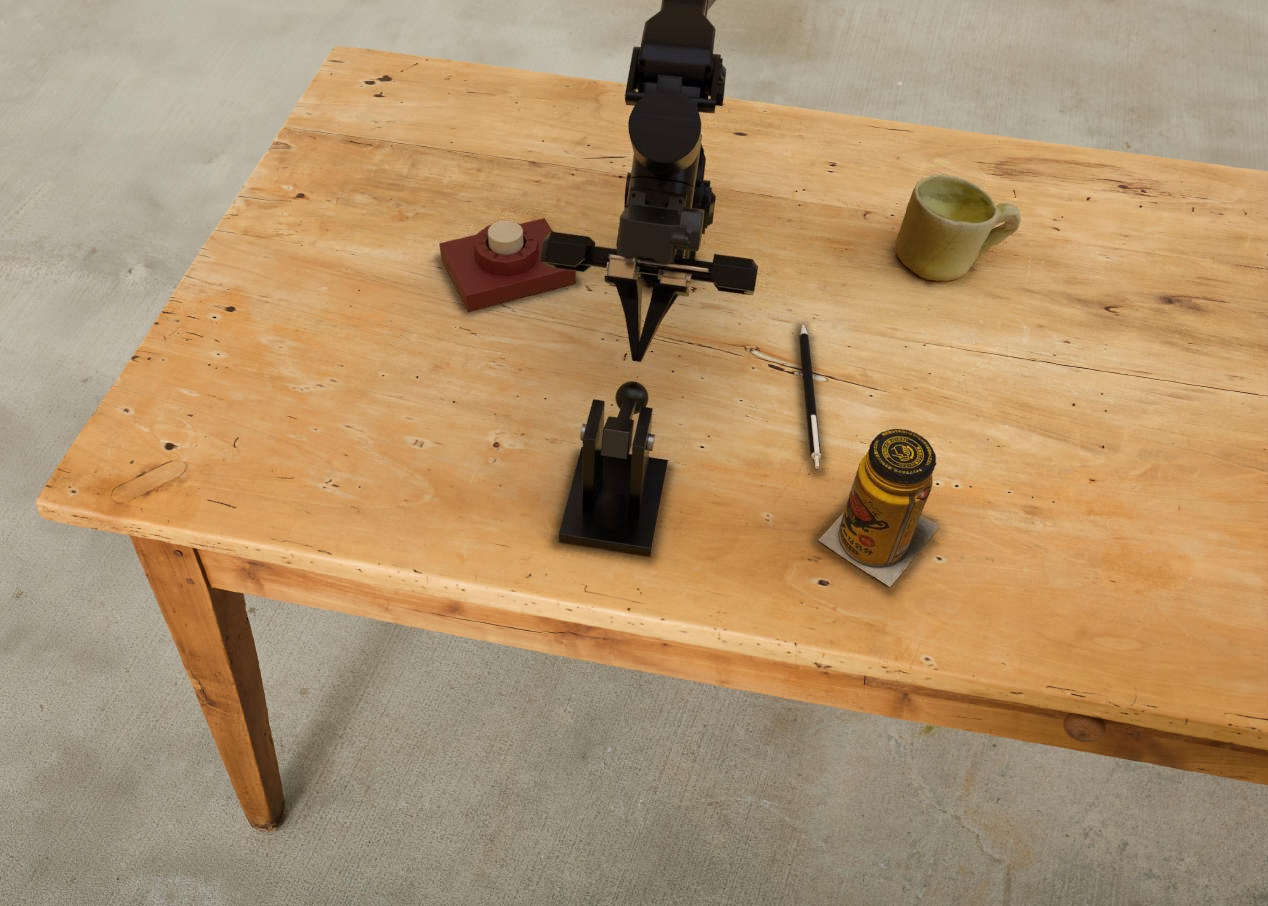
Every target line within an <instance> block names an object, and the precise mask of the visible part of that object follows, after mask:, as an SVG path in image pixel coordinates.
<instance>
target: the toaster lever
mask: <svg viewBox="0 0 1268 906" xmlns="http://www.w3.org/2000/svg"><path fill="white" fill-rule="evenodd" d="M614 398H615V404H616V406H617V408H618V409H619V411H618V412H617V413H618V414H617V416H611V415H608V416H607V419H606V422H604V428H603V436H602V446H601V455H602V456H609V457H615V458H622V459H627V458H628V455H629V454H630V452H631V450H632V445H633V438H634V428H635V419H633V418H634V416H635V415H639V413H640V408H641V406H643V407H648V404H649V400H650V397H649V392H648V390H647V388H646V386H644V385H643V383H642V384H641V382H638V381H636V380H635V381H633V380H630V381H626V382H624V383H622V384H621V385H620V386H619V387H618V388H617V390H616V392H615V397H614Z"/></svg>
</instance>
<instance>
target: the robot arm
mask: <svg viewBox="0 0 1268 906" xmlns="http://www.w3.org/2000/svg"><path fill="white" fill-rule="evenodd" d="M716 2H717V0H661V7H660V10H659V11H658V12H657V13H654V15H652V16H651V17H650V18H648V19H647V20H646V21H645V22H644V25H643V30H642V36H641V42H640V46H636V45H634V46H633V48H632V53H631V58H630V62H629V63H630V64H629V70H628V75H627V81H626V86H625V91H624V92H625V93H624V102H625V105H626V106H631V107H632V109H631V112H630V114H629V117H628V122H627V123H628V124H627V125H628V126H627V127H628V128H627V129H628V135H629V140H630V143H631V144H630V145H631V146H632V150H633V157H632V163H631V171H630V172H627V174H626V178H625V179H626V180H625V187H624V189H625V190H624V199H623V200H624V201H623V202H624V208H623V209H624V210H623V211H622V213H621V214H620V215H619V222H618V230H617V237H616V243H615V247H616V248H611V247H605V246H597V245H596V241H595V240H594V239H592V238H591V237H590V236H589V235H588V236H587V235H580V234H572V233H567V232H559V231H553V230H552V231H553V232H552V231H551V232H550V233H549V234H548V235H547V236H546V237H545V238H544V241H543V245H542V253H541V260H540V262H542V263H543V264H545V265H547V266H549V267H552V268H557V269H564V270H571V271H576V272H578V273H585V272H587V271H588V270H589V269H590V268H592V267H594V268H602V269H605V271H606V275H604V277H603V278H604V279H603V280H604V281H603V282H604V283H606V284H607V285H609V286H611V287H615V288H616V291H617V294H618V297H619V301H620V304H621V307H622V310H623V314H624V319H625V326H626V333H627V339H628V344H629V350H630V356H631V361H632V362H636V363H642V362H643V360H644V358H645V356H646V354H647V352H648V350H649V348H650V346H651V343H652V342H653V339H654V338H655V335H656V333H657V332H658V329H659V327H660V326H661V323H662V322H663V320H664V318H665V317H666V316H667V314H668V312H669V311H670V309H671V308H672V306H673V305H674V303H675V301H676V300H677V299H678V298H679V297H689V296H690V289H689V286H690V285H691V284H692V281H697V282H703V283H708V284H713V285H714V287H715V289H716V290H717V291H718V292H723V293H729V294H737V295H744V296H754V294H755V290H756V284H757V279H758V277H757V276H758V271H759V266H758V264H757V263H756V261H755V260H754V259H753V258H749V257H748V258H747V257H741V256H734V255H726V254H718V253H714V254H713V258H712V261H706V260H698V259H696V255H697V252H699V251H700V247H701V244H702V243H701V242H702V236H703V235H706V229H708V227H709V226H711V225H713V223H714V214H715V208H716V200H717V195H716V194H715V193H714V192H713V187H711V179H710V180H709V179H705V173H706V172H705V171H706V164H707V163H706V162H707V157H706V154H705V149H704V146H703V143H702V140H703V134H702V119H701V115H700V113H705V114H713V115H714V114H716V107H723V106H724V98H725V89H726V80H727V79H726V77H727V68H726V67H725V65H724V64H723V61H724V58H723V57H722V54H721V53H714V49H715V39H716V27H715V26H714V25H713V23H712V22H711V21H710V20H709V18H708V12H709V10H710V9H711V7H712V6H713V5H714V4H715V3H716ZM709 97H710V98H709ZM639 278H641V280H642V282H643V283H644V285H645V286H646V287H648V288H652V290H651V295H650V301H649V304H648V308H647V311H646V312H647V313H646V316H645V318H644V319H645V320H644V323H643V326H642V304H643V303H642V300H643V284H642V283H641V282H640V281H639V280H638V279H639ZM641 328H642V330H641Z"/></svg>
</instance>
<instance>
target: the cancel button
mask: <svg viewBox="0 0 1268 906" xmlns="http://www.w3.org/2000/svg"><path fill="white" fill-rule="evenodd" d="M518 223H519V222H516V221H513V220H499V221H495V222H494V223H492V224H490V225H491V226H490V227H489V229H488V241H489V247H490V249H491V250H492V251H493V252H494V253H496V254H501V255H510V254H514V253H517V252H519V251H520V250H521V249H522V247H523V229H522V227H521V226H520V225H519V224H520V223H519V224H518Z"/></svg>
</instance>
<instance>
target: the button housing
mask: <svg viewBox="0 0 1268 906" xmlns="http://www.w3.org/2000/svg"><path fill="white" fill-rule="evenodd" d="M517 223H518V224H519V225H520V226H521V227H522V229H523V247H522V249H521V250H520V251H519V252H517V253H514V254H510V255H501V254H496V253H494V252H493V251H492V250H491V249H490V247H489V241H488V229H489V227H490V226H491V225H492V224H489V225H487V226H485V227H484V228H483V229H481V230H480V231H478V232H477V233H476V234H473V235H472V234H471V235H468V236H463V237H459V238H455V239H452V240H448V241H443V242H440V243H439V244H438V245H439V253H440V260H441V262H442V264H443V266H444V268H445V270H446V271H447V273H448V276H449V277H450V279H451V282H452V284H453V285H454V288H455V289H456V292H457V293H458V296H459V297H460V299H461V301H462V303H463V305H464V307H465V310H466V311H467V312H468V313H469V312H472V311H477V310H480V309H484V308H488V307H492V306H495V305H500V304H503V303H507V302H511V301H514V300H519V299H523V298H526V297H530V296H533V295H534V296H535V295H537V294H541V293H545V292H548V291H551V290H556V289H560V288H564V287H567V286H570V285H575V284H577V278H576V277H577V276H576V275H577V271H571V270H564V269H557V268H552V267H549V266H547V265H545V264H543V263H542V262H540V260H541V253H542V245H543V241H544V238H545V237H546V236H547V235H548V234H549V233H550V232H551V231H552V232H554V230H553V229H552V227H551V226H550V224H549V222H548V221H547V219H546V218H545V217H543V218H542V217H541V218H538V219H534V220H530V221H526V222H522V223H519V222H517Z"/></svg>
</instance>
